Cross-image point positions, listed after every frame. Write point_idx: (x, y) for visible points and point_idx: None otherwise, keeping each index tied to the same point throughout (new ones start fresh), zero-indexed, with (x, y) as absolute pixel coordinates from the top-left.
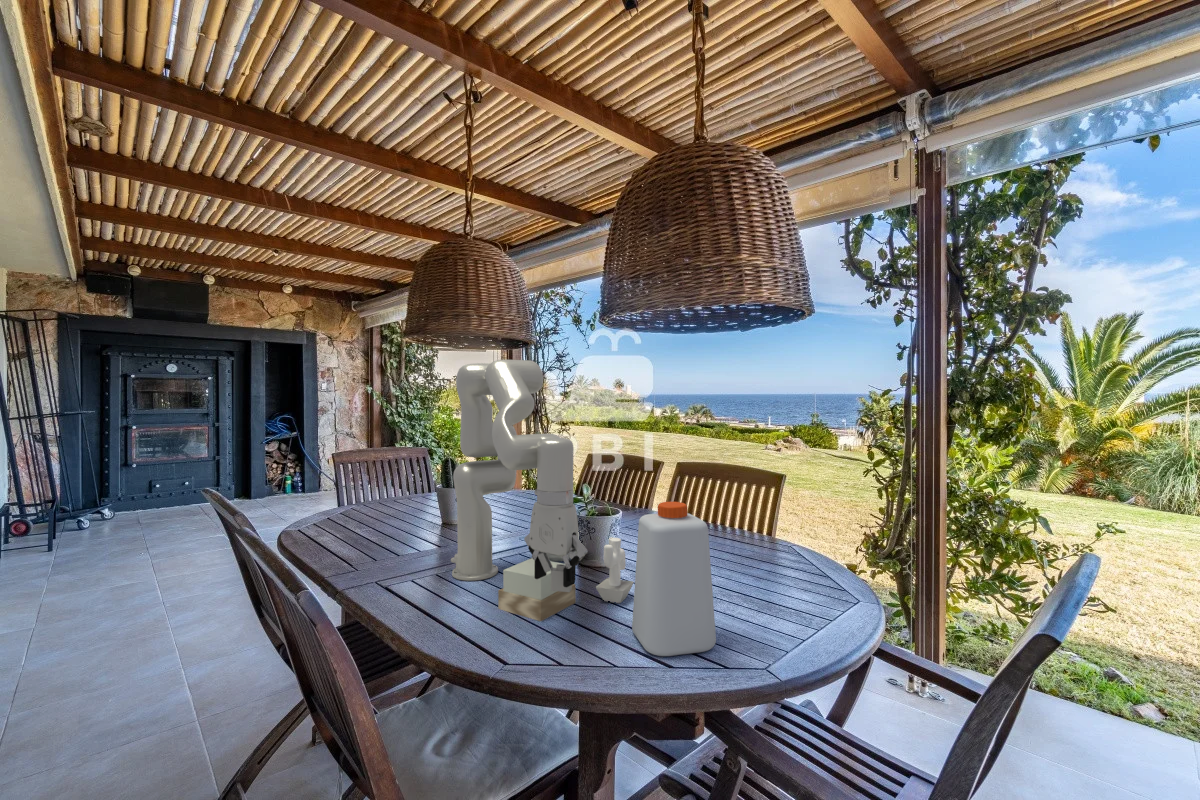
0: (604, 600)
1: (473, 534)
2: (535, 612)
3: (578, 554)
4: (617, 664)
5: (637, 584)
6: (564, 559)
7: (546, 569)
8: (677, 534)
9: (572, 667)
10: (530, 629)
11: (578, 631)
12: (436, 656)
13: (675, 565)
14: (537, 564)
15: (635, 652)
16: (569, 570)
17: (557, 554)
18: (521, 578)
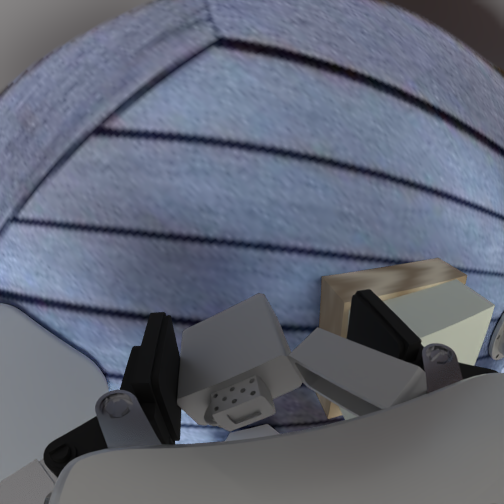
0: (265, 425)
1: None
2: (347, 282)
3: (40, 484)
4: (15, 227)
5: (29, 440)
6: (144, 440)
7: (313, 341)
8: None
9: (68, 141)
10: (313, 224)
11: (197, 297)
12: (379, 3)
13: None
14: (392, 336)
15: (30, 294)
16: (128, 390)
17: (152, 452)
18: (441, 318)
